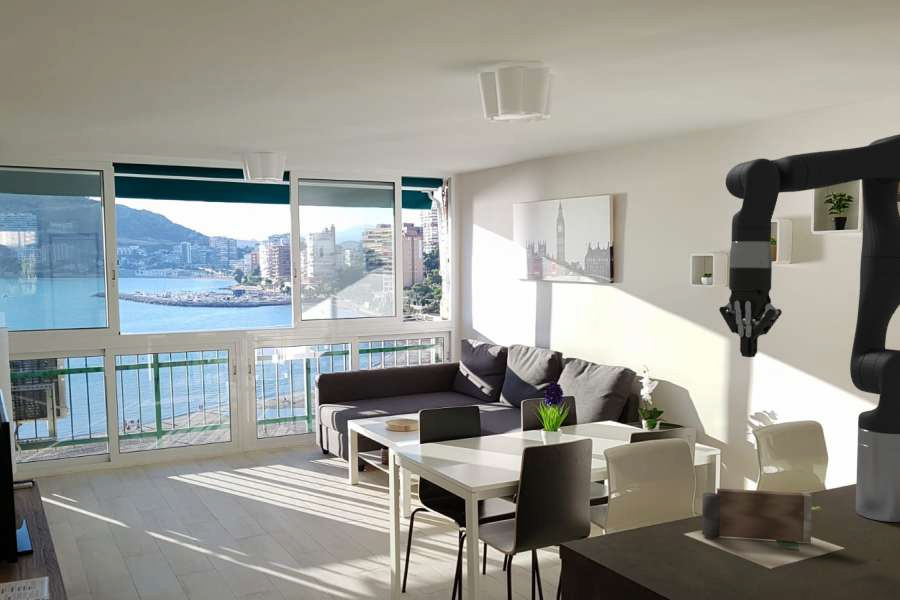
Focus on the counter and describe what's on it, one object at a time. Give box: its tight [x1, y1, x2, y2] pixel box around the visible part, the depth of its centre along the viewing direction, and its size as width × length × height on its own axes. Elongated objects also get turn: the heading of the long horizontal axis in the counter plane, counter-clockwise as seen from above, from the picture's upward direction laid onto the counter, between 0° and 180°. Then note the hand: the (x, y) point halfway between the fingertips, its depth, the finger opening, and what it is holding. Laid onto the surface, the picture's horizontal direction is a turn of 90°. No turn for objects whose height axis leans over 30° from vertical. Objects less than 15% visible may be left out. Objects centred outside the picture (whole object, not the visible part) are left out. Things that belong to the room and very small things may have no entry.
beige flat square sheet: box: [683, 529, 845, 569], centre depth 133 cm, size 19×18×2 cm
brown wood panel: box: [701, 488, 813, 543], centre depth 133 cm, size 18×3×8 cm, turn 80°
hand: (748, 356), depth 146 cm, fingers closed
